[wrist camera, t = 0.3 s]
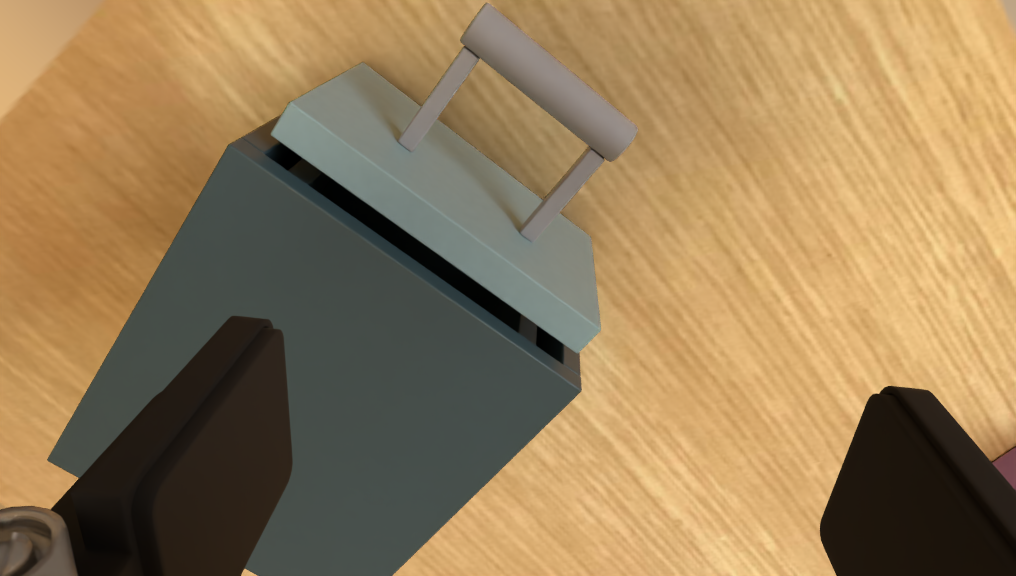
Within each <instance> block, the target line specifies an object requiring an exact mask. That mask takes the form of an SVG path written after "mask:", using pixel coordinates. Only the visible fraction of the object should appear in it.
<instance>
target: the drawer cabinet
mask: <svg viewBox="0 0 1016 576" xmlns="http://www.w3.org/2000/svg"><path fill="white" fill-rule="evenodd" d="M281 115H282V114H281ZM281 115H279V116H278V117H276V118H274V119H273V120H271V121H269V122H267V123H266V124H264V125H262V126H260V127H259V128H257V129H255V130H253V131H252V132H250V133H248V134H246V135H245V136H243V137H241V138H239V139H238V140H236V141H234V142H232V143H231V144H229V145H228V146H227V148H226V150H225V152H224V153H223V155H222V157H221V159H220V160H219V162H218V164H217V165H216V167H215V169H214V171H213V172H212V174H211V176H210V178H209V179H208V181H207V183H206V185H205V186H204V188H203V190H202V191H201V193H200V195H199V197H198V198H197V200H196V202H195V204H194V205H193V207H192V209H191V211H190V212H189V214H188V216H187V218H186V219H185V221H184V223H183V224H182V226H181V228H180V230H179V231H178V233H177V235H176V237H175V238H174V240H173V242H172V244H171V245H170V247H169V249H168V251H167V252H166V254H165V256H164V257H163V259H162V261H161V263H160V264H159V266H158V268H157V270H156V271H155V273H154V275H153V277H152V278H151V280H150V282H149V284H148V285H147V287H146V289H145V290H144V292H143V294H142V296H141V297H140V299H139V301H138V303H137V304H136V306H135V308H134V310H133V311H132V313H131V315H130V317H129V318H128V320H127V322H126V323H125V325H124V327H123V329H122V330H121V332H120V334H119V336H118V337H117V339H116V341H115V343H114V344H113V346H112V348H111V349H110V351H109V353H108V355H107V356H106V358H105V360H104V362H103V363H102V365H101V367H100V369H99V370H98V372H97V374H96V376H95V377H94V379H93V381H92V382H91V384H90V386H89V388H88V389H87V391H86V393H85V395H84V396H83V398H82V400H81V402H80V403H79V405H78V407H77V409H76V410H75V412H74V414H73V415H72V417H71V419H70V421H69V422H68V424H67V426H66V428H65V429H64V431H63V433H62V435H61V436H60V438H59V440H58V442H57V443H56V445H55V447H54V448H53V450H52V452H51V454H50V455H49V457H48V459H47V460H48V461H49V462H51V463H53V464H54V465H56V466H58V467H60V468H62V469H64V470H65V471H67V472H69V473H71V474H73V475H75V476H76V477H78V478H80V477H81V476H82V475H83V474H84V473H85V472H86V470H87V469H88V468H89V467H90V466H91V465H92V464H93V463H94V462H95V461H96V460H97V458H98V457H99V456H100V455H101V454H102V453H103V452H104V451H105V450H106V449H107V448H108V446H109V445H110V444H111V443H112V442H113V441H114V440H115V439H116V438H117V437H118V436H119V435H120V433H121V432H122V431H123V430H124V429H125V428H126V427H127V426H128V425H129V424H130V423H131V421H132V420H133V419H134V418H135V417H136V416H137V415H138V414H139V413H140V412H141V411H142V409H143V408H144V407H145V406H146V405H147V404H148V403H149V402H150V401H151V400H152V399H153V398H154V397H155V396H156V395H157V394H159V393H160V392H162V391H163V390H164V389H165V388H166V387H167V385H168V384H169V383H170V382H171V381H172V380H173V379H174V378H175V377H176V376H177V374H178V373H179V372H180V371H181V370H182V369H183V368H184V367H185V366H186V365H187V363H188V362H189V361H190V360H191V359H192V358H193V357H194V356H195V355H196V354H197V353H198V351H199V350H200V349H201V348H202V347H203V346H204V345H205V344H206V343H207V342H208V340H209V339H210V338H211V337H212V336H213V335H214V334H215V333H216V332H217V331H218V330H219V328H220V327H221V326H222V325H223V324H224V323H225V322H226V321H227V320H228V319H229V318H230V317H231V316H244V317H254V318H263V319H269V320H270V321H271V322H272V325H273V329H280V330H281V331H282V333H283V336H284V347H285V361H286V374H287V388H288V402H289V416H290V430H291V443H292V457H293V465H292V472H291V476H290V479H289V482H288V484H287V486H286V488H285V490H284V492H283V494H282V496H281V498H280V500H279V502H278V504H277V506H276V508H275V510H274V512H273V514H272V515H271V517H270V519H269V521H268V523H267V525H266V527H265V529H264V531H263V533H262V535H261V537H260V539H259V541H258V543H257V545H256V547H255V549H254V551H253V552H252V554H251V556H250V558H249V560H248V562H247V564H246V566H245V569H247V570H249V571H250V572H252V573H254V574H256V575H258V576H392V575H393V574H394V573H395V572H396V571H397V570H398V569H399V568H400V567H401V566H403V565H404V564H405V563H406V562H407V561H408V560H409V559H410V558H411V557H412V556H413V555H414V554H415V553H416V552H417V551H418V550H419V549H420V548H421V547H422V546H423V545H424V544H425V543H426V542H427V541H428V540H429V539H430V538H431V537H432V536H433V535H434V534H435V533H436V532H437V531H438V530H439V529H440V528H441V527H443V526H444V525H445V524H446V523H447V522H448V521H449V520H450V519H451V518H452V517H453V516H454V515H455V514H456V513H457V512H458V511H459V510H460V509H461V508H462V507H463V506H464V505H465V504H466V503H467V502H468V501H469V500H470V499H471V498H472V497H473V496H474V495H475V494H476V493H477V492H478V491H479V490H480V489H481V488H483V487H484V486H485V485H486V484H487V483H488V482H489V481H490V480H491V479H492V478H493V477H494V476H495V475H496V474H497V473H498V472H499V471H500V470H501V469H502V468H503V467H504V466H505V465H506V464H507V463H508V462H509V461H510V460H511V459H512V458H513V457H514V456H515V455H516V454H517V453H518V452H519V451H520V450H521V449H523V448H524V447H525V446H526V445H527V444H528V443H529V442H530V441H531V440H532V439H533V438H534V437H535V436H536V435H537V434H538V433H539V432H540V431H541V430H542V429H543V428H544V427H545V426H546V425H547V424H548V423H549V422H550V421H551V420H552V419H553V418H554V417H555V416H556V415H557V414H558V413H559V412H560V411H561V410H563V409H564V408H565V407H566V406H567V405H568V404H569V403H570V402H571V401H572V400H573V399H574V398H575V397H576V396H577V395H578V394H579V393H580V392H581V390H582V389H581V377H580V355H579V353H575V352H574V351H572V350H571V349H570V348H568V347H567V346H565V345H564V344H563V343H561V342H560V341H558V340H557V339H556V338H554V337H553V336H551V335H550V334H549V333H547V332H546V331H544V330H543V329H542V328H540V327H539V326H537V337H536V345H534V344H533V343H532V342H530V341H529V340H527V339H526V338H524V337H523V336H522V335H520V334H519V333H517V332H516V331H515V330H513V329H512V328H510V327H509V326H507V325H506V324H505V323H503V322H502V321H500V320H499V319H497V318H496V317H495V316H493V315H492V314H490V313H489V312H488V311H486V310H485V309H483V308H482V307H480V306H479V305H478V304H476V303H475V302H473V301H472V300H471V299H469V298H468V297H466V296H465V295H463V294H462V293H461V292H459V291H458V290H456V289H455V288H453V287H452V286H451V285H449V284H448V283H446V282H445V281H444V280H442V279H441V278H439V277H438V276H436V275H435V274H434V273H432V272H431V271H429V270H428V269H427V268H425V267H424V266H422V265H421V264H419V263H418V262H417V261H415V260H414V259H412V258H411V257H409V256H408V255H407V254H405V253H404V252H402V251H401V250H400V249H398V248H397V247H395V246H394V245H392V244H391V243H390V242H388V241H387V240H385V239H384V238H383V237H381V236H380V235H378V234H377V233H375V232H374V231H373V230H371V229H370V228H368V227H367V226H365V225H364V224H363V223H361V222H360V221H358V220H357V219H356V218H354V217H353V216H351V215H350V214H348V213H347V212H346V211H344V210H343V209H341V208H340V207H339V206H337V205H336V204H334V203H333V202H331V201H330V200H329V199H327V198H326V197H324V196H323V195H321V194H320V193H319V192H317V191H316V190H314V189H313V188H312V187H310V186H309V185H307V184H306V183H304V182H303V181H302V180H300V179H299V178H297V177H296V176H295V175H293V174H292V173H290V172H289V171H287V170H289V169H290V168H291V167H292V166H294V165H295V164H296V163H297V162H299V161H300V160H301V159H302V157H301V156H299V155H298V154H296V153H295V152H294V151H292V150H291V149H289V148H288V147H287V146H285V145H284V144H282V143H281V142H280V141H278V140H277V139H275V138H274V137H273V136H271V132H272V130H273V128H274V127H275V125H276V123H277V122H278V120H279V118H280V117H281Z"/></svg>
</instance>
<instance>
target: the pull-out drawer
mask: <svg viewBox="0 0 1016 576" xmlns="http://www.w3.org/2000/svg"><path fill="white" fill-rule="evenodd" d="M460 41H461V43H462V44H463V45H465V46H464V47H463V48H462V49H461V51H460V52H459V54H458V55H457V56H456V58H455V59H454V61H453V62H452V64H451V65H450V66H449V68H448V69H447V71H446V72H445V74H444V75H443V76H442V78H441V79H440V81H439V82H438V84H437V85H436V86H435V88H434V89H433V91H432V92H431V94H430V95H429V96H428V98H427V99H426V101H425V102H424V104H423V105H422V106H420V105H418V104H417V103H416V102H414V101H413V100H412V99H410V98H409V97H408V96H407V95H405V94H404V93H403V92H401V91H400V90H399V89H397V88H396V87H395V86H394V85H392V84H391V83H390V82H388V81H387V80H386V79H384V78H383V77H382V76H380V75H379V74H378V73H377V72H375V71H374V70H373V69H371V68H370V67H369V66H367V65H366V64H365V63H363V62H362V63H360V64H358V65H356V66H355V67H353V68H351V69H349V70H347V71H346V72H344V73H342V74H340V75H338V76H336V77H335V78H333V79H331V80H329V81H327V82H325V83H324V84H322V85H320V86H318V87H316V88H315V89H313V90H311V91H309V92H307V93H305V94H304V95H302V96H300V97H298V98H296V99H294V100H293V101H291V102H289V103H288V105H287V107H286V108H285V110H284V112H283V113H282V115H281V117H280V118H279V120H278V122H277V123H276V125H275V127H274V128H273V130H272V132H271V136H273V137H274V138H275V139H277V140H278V141H280V142H281V143H282V144H284V145H285V146H287V147H288V148H289V149H291V150H292V151H294V152H295V153H296V154H298V155H299V156H301V157H302V159H301V160H300V161H299V162H297V163H296V164H295V165H294V166H292V167H291V168H290V169H289V170H287V171H289V172H290V173H292V174H293V175H295V176H296V177H297V178H299V179H300V180H302V181H303V182H304V183H306V184H307V185H309V186H310V187H312V188H313V189H314V190H316V191H317V192H319V193H320V194H321V195H323V196H324V197H326V198H327V199H329V200H330V201H331V202H333V203H334V204H336V205H337V206H339V207H340V208H341V209H343V210H344V211H346V212H347V213H348V214H350V215H351V216H353V217H354V218H356V219H357V220H358V221H360V222H361V223H363V224H364V225H365V226H367V227H368V228H370V229H371V230H373V231H374V232H375V233H377V234H378V235H380V236H381V237H383V238H384V239H385V240H387V241H388V242H390V243H391V244H392V245H394V246H395V247H397V248H398V249H400V250H401V251H402V252H404V253H405V254H407V255H408V256H409V257H411V258H412V259H414V260H415V261H417V262H418V263H419V264H421V265H422V266H424V267H425V268H427V269H428V270H429V271H431V272H432V273H434V274H435V275H436V276H438V277H439V278H441V279H442V280H444V281H445V282H446V283H448V284H449V285H451V286H452V287H453V288H455V289H456V290H458V291H459V292H461V293H462V294H463V295H465V296H466V297H468V298H469V299H471V300H472V301H473V302H475V303H476V304H478V305H479V306H480V307H482V308H483V309H485V310H486V311H488V312H489V313H490V314H492V315H493V316H495V317H496V318H497V319H499V320H500V321H502V322H503V323H505V324H506V325H507V326H509V327H510V328H512V329H513V330H515V331H516V332H517V333H519V334H520V335H522V336H523V337H524V338H526V339H527V340H529V341H530V342H532V343H533V344H534V345H536V337H537V326H539V327H540V328H542V329H543V330H544V331H546V332H547V333H549V334H550V335H551V336H553V337H554V338H556V339H557V340H558V341H560V342H561V343H563V344H564V345H565V346H567V347H568V348H570V349H571V350H572V351H574V352H575V353H579V352H580V351H581V350H582V349H583V348H584V347H585V346H586V345H587V344H588V343H589V342H590V341H591V340H592V339H593V338H594V337H595V336H596V335H597V334H598V333H599V332H600V331H601V324H600V314H599V305H598V296H597V287H596V277H595V268H594V259H593V250H592V241H591V237H590V236H589V235H588V234H586V233H585V232H584V231H582V230H581V229H580V228H579V227H577V226H576V225H575V224H573V223H572V222H571V221H569V220H568V219H567V218H566V217H564V216H563V215H562V214H560V211H561V210H562V209H563V208H564V207H565V206H566V204H567V203H568V202H569V201H570V200H571V199H572V198H573V196H574V195H575V194H576V193H577V192H578V191H579V189H580V188H581V187H582V186H583V185H584V184H585V182H586V181H587V180H588V179H589V178H590V177H591V176H592V174H593V173H594V172H595V171H596V170H597V169H598V167H599V166H600V165H601V164H602V163H603V162H604V158H605V159H606V160H607V161H610V162H611V161H614V160H615V159H617V158H618V157H619V156H620V155H621V154H622V153H623V152H624V151H625V150H626V149H627V148H628V146H629V145H630V144H631V142H632V141H633V139H634V138H635V136H636V134H637V131H638V127H637V126H636V125H635V124H634V123H633V122H632V121H630V120H629V119H628V118H627V117H626V116H624V115H623V114H622V113H621V112H620V111H618V110H617V109H616V108H615V107H614V106H612V105H611V104H610V103H609V102H607V101H606V100H605V99H604V98H603V97H601V96H600V95H599V94H598V93H597V92H595V91H594V90H593V89H592V88H591V87H589V86H588V85H587V84H586V83H585V82H583V81H582V80H581V79H580V78H579V77H577V76H576V75H575V74H574V73H573V72H571V71H570V70H569V69H568V68H567V67H565V66H564V65H563V64H562V63H561V62H559V61H558V60H557V59H556V58H555V57H553V56H552V55H551V54H550V53H549V52H547V51H546V50H545V49H544V48H543V47H541V46H540V45H539V44H538V43H536V42H535V41H534V40H533V39H532V38H530V37H529V36H528V35H527V34H526V33H524V32H523V31H522V30H521V29H520V28H518V27H517V26H516V25H515V24H514V23H512V22H511V21H510V20H509V19H508V18H506V17H505V16H504V15H503V14H502V13H500V12H499V11H498V10H497V9H496V8H494V7H493V6H492V5H491V4H490V3H486V4H484V6H483V7H482V8H481V9H480V11H479V12H478V13H477V15H476V16H475V18H474V19H473V20H472V22H471V23H470V25H469V26H468V28H467V29H466V31H465V32H464V34H463V35H462V37H461V39H460ZM480 58H481V59H482V60H483V61H484V62H486V63H487V64H488V65H489V66H491V67H492V68H493V69H494V70H496V71H497V72H498V73H499V74H501V75H502V76H503V77H504V78H505V79H507V80H508V81H509V82H510V83H512V84H513V85H514V86H515V87H517V88H518V89H519V90H520V91H522V92H523V93H524V94H525V95H527V96H528V97H529V98H530V99H532V100H533V101H534V102H535V103H536V104H538V105H539V106H540V107H541V108H543V109H544V110H545V111H546V112H548V113H549V114H550V115H551V116H553V117H554V118H555V119H556V120H558V121H559V122H560V123H561V124H563V125H564V126H565V127H566V128H568V129H569V130H570V131H571V132H572V133H574V134H575V135H576V136H577V137H579V138H580V139H581V140H582V141H584V142H585V143H586V144H587V145H589V147H588V148H587V149H586V150H585V151H584V152H583V154H582V155H581V156H580V157H579V158H578V160H577V161H576V162H575V163H574V164H573V165H572V167H571V168H570V169H569V170H568V171H567V173H566V174H565V175H564V176H563V177H562V178H561V180H560V181H559V182H558V183H557V184H556V186H555V187H554V188H553V189H552V190H551V192H550V193H549V194H548V195H547V196H546V197H545V199H544V200H542V199H541V198H539V197H538V196H537V195H536V194H534V193H533V192H532V191H530V190H529V189H528V188H526V187H525V186H524V185H523V184H521V183H520V182H519V181H517V180H516V179H515V178H513V177H512V176H511V175H509V174H508V173H507V172H506V171H504V170H503V169H502V168H500V167H499V166H498V165H496V164H495V163H494V162H493V161H491V160H490V159H489V158H487V157H486V156H485V155H483V154H482V153H481V152H480V151H478V150H477V149H476V148H474V147H473V146H472V145H470V144H469V143H468V142H466V141H465V140H464V139H463V138H461V137H460V136H459V135H457V134H456V133H455V132H453V131H452V130H451V129H450V128H448V127H447V126H446V125H444V124H443V123H442V122H440V121H439V120H438V119H437V118H438V116H439V115H440V114H441V112H442V111H443V110H444V108H445V107H446V105H447V104H448V103H449V101H450V100H451V98H452V97H453V96H454V94H455V93H456V91H457V90H458V89H459V87H460V86H461V84H462V83H463V82H464V80H465V79H466V77H467V76H468V75H469V73H470V72H471V70H472V69H473V68H474V66H475V65H476V63H477V62H478V61H479V59H480Z"/></svg>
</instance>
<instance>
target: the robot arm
mask: <svg viewBox="0 0 1016 576" xmlns="http://www.w3.org/2000/svg"><path fill="white" fill-rule="evenodd" d="M292 465H293V457H292V443H291V430H290V416H289V402H288V388H287V374H286V361H285V347H284V336H283V333H282V331H281V330H280V329H273V325H272V322H271V321H270V320H269V319H263V318H254V317H244V316H231V317H230V318H229V319H228V320H227V321H226V322H225V323H224V324H223V325H222V326H221V327H220V328H219V330H218V331H217V332H216V333H215V334H214V335H213V336H212V337H211V338H210V339H209V340H208V342H207V343H206V344H205V345H204V346H203V347H202V348H201V349H200V350H199V351H198V353H197V354H196V355H195V356H194V357H193V358H192V359H191V360H190V361H189V362H188V363H187V365H186V366H185V367H184V368H183V369H182V370H181V371H180V372H179V373H178V374H177V376H176V377H175V378H174V379H173V380H172V381H171V382H170V383H169V384H168V385H167V387H166V388H165V389H164V390H163V391H162V392H160V393H159V394H157V395H156V396H155V397H154V398H153V399H152V400H151V401H150V402H149V403H148V404H147V405H146V406H145V407H144V408H143V409H142V411H141V412H140V413H139V414H138V415H137V416H136V417H135V418H134V419H133V420H132V421H131V423H130V424H129V425H128V426H127V427H126V428H125V429H124V430H123V431H122V432H121V433H120V435H119V436H118V437H117V438H116V439H115V440H114V441H113V442H112V443H111V444H110V445H109V446H108V448H107V449H106V450H105V451H104V452H103V453H102V454H101V455H100V456H99V457H98V458H97V460H96V461H95V462H94V463H93V464H92V465H91V466H90V467H89V468H88V469H87V470H86V472H85V473H84V474H83V475H82V476H81V477H80V478H79V479H78V480H77V481H76V482H75V483H74V485H73V486H72V487H71V488H70V489H69V490H68V491H67V492H66V493H65V494H64V495H63V497H62V498H61V499H60V500H59V501H58V502H57V503H56V504H55V505H54V506H53V507H52V509H51V510H50V509H46V508H41V507H35V506H21V507H9V508H5V509H1V510H0V576H241V574H242V572H243V570H244V568H245V566H246V564H247V562H248V560H249V558H250V556H251V554H252V552H253V551H254V549H255V547H256V545H257V543H258V541H259V539H260V537H261V535H262V533H263V531H264V529H265V527H266V525H267V523H268V521H269V519H270V517H271V515H272V514H273V512H274V510H275V508H276V506H277V504H278V502H279V500H280V498H281V496H282V494H283V492H284V490H285V488H286V486H287V484H288V482H289V479H290V476H291V472H292ZM820 536H821V541H822V544H823V546H824V549H825V551H826V553H827V555H828V558H829V560H830V562H831V564H832V566H833V569H834V571H835V573H836V575H837V576H1016V490H1015V489H1014V488H1013V487H1012V486H1011V484H1010V483H1009V482H1008V481H1007V480H1006V479H1005V477H1004V476H1003V475H1002V474H1001V473H1000V472H999V470H998V469H997V468H996V467H995V466H994V465H993V463H992V462H991V461H990V460H989V459H988V458H987V456H986V455H985V454H984V453H983V452H982V451H981V449H980V448H979V447H978V446H977V445H976V444H975V442H974V441H973V440H972V439H971V438H970V437H969V435H968V434H967V433H966V432H965V431H964V430H963V428H962V427H961V426H960V425H959V424H958V423H957V421H956V420H955V419H954V418H953V417H952V416H951V414H950V413H949V412H948V411H947V410H946V409H945V407H944V406H943V405H942V404H941V403H940V402H939V401H938V399H937V398H936V397H935V396H934V395H933V394H932V393H931V392H930V391H928V390H923V389H914V388H905V387H895V386H888V387H885V388H884V389H883V390H882V391H881V392H880V394H873V395H872V396H871V397H870V398H869V400H868V401H867V404H866V406H865V409H864V411H863V414H862V417H861V419H860V422H859V424H858V427H857V429H856V432H855V434H854V437H853V440H852V442H851V445H850V447H849V450H848V452H847V455H846V457H845V460H844V463H843V465H842V468H841V470H840V473H839V475H838V478H837V481H836V483H835V486H834V488H833V491H832V493H831V496H830V498H829V501H828V504H827V506H826V509H825V511H824V514H823V516H822V519H821V523H820Z"/></svg>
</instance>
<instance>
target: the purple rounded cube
mask: <svg viewBox="0 0 1016 576" xmlns="http://www.w3.org/2000/svg"><path fill="white" fill-rule="evenodd" d="M992 463H993V465H994V466H995V467H996V468H997V469H998V470H999V472H1000V473H1001V474H1002V475H1003V476H1004V477H1005V479H1006V480H1007V481H1008V482H1009V483H1010V484H1011V486H1012V487H1013V488H1014V489H1015V490H1016V447H1015V448H1013V449H1012V450H1010V451H1009V452H1007V453H1006V454H1004V455H1003V456H1001V457H1000V458H998V459H997V460H995V461H994V462H992Z"/></svg>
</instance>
